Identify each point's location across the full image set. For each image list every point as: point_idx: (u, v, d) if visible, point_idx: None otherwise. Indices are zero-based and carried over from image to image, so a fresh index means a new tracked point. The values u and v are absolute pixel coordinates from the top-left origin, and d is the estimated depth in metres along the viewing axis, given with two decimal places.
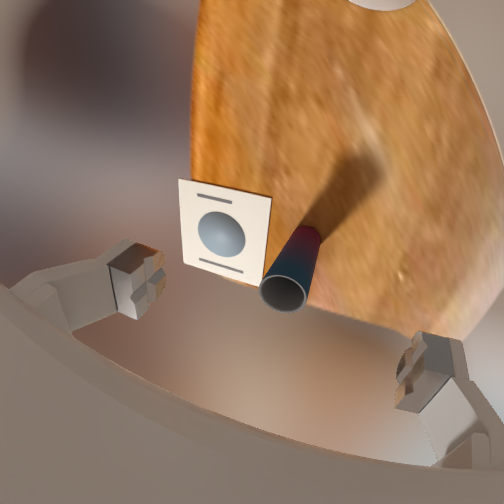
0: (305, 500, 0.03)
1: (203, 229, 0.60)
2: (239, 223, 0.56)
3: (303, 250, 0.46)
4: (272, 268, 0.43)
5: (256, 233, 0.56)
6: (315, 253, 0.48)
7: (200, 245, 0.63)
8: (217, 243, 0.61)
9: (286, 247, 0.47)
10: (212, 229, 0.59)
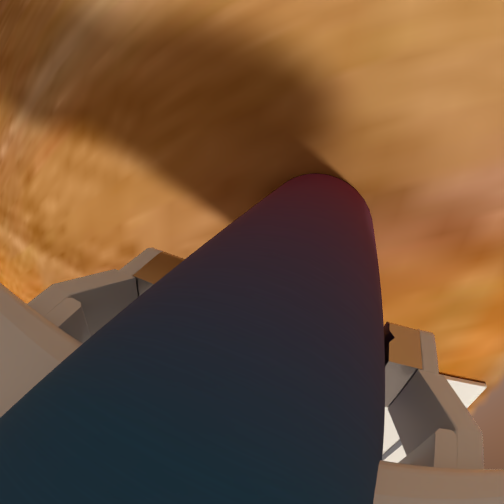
0: None
1: None
2: None
3: None
4: None
5: None
6: (253, 213, 0.09)
7: None
8: None
9: None
10: None
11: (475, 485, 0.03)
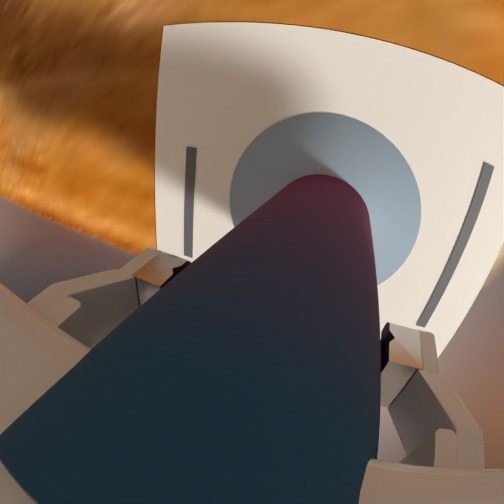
0: None
1: None
2: (262, 127, 0.14)
3: None
4: None
5: (294, 64, 0.12)
6: (263, 210, 0.10)
7: None
8: None
9: None
10: None
11: (475, 485, 0.03)
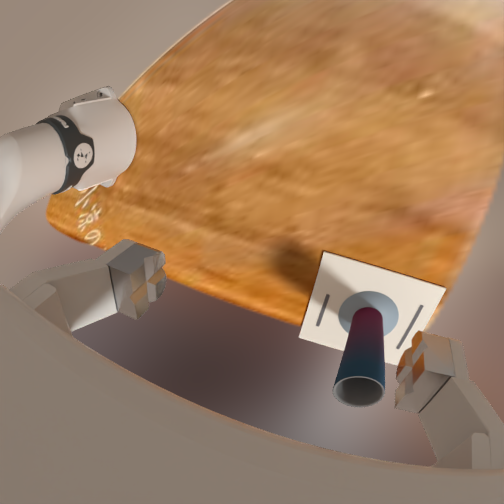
0: (305, 500, 0.03)
1: None
2: (354, 293, 0.46)
3: (347, 344, 0.41)
4: None
5: (367, 277, 0.44)
6: (361, 329, 0.41)
7: None
8: None
9: None
10: None
11: (475, 485, 0.03)
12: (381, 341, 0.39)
